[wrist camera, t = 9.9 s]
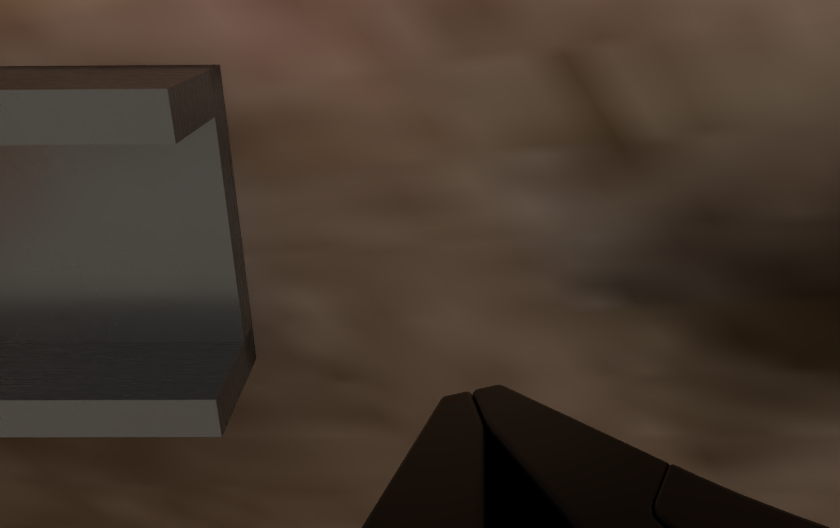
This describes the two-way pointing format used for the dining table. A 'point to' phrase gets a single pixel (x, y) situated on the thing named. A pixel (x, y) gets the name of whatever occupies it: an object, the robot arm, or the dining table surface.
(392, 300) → the dining table surface
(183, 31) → the dining table surface
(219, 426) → the chute
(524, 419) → the robot arm
